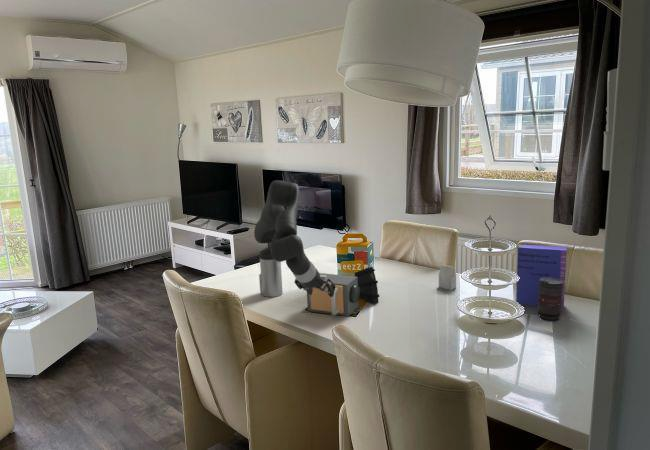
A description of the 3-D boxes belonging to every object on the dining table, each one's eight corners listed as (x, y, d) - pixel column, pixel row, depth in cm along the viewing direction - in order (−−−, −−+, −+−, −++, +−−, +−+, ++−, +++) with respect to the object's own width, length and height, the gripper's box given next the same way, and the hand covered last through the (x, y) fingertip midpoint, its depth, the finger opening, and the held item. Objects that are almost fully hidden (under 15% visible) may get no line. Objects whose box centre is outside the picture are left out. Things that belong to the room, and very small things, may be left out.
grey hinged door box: (307, 310, 209) (305, 278, 206) (319, 301, 218) (317, 271, 216) (351, 316, 200) (350, 283, 198) (362, 307, 210) (361, 275, 207)
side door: (304, 312, 203) (302, 286, 201) (310, 307, 208) (309, 282, 205) (338, 317, 197) (337, 290, 194) (343, 312, 201) (342, 285, 199)
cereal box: (563, 305, 203) (566, 246, 198) (563, 309, 198) (566, 249, 194) (517, 300, 210) (519, 244, 205) (516, 304, 206) (518, 246, 201)
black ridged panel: (376, 302, 210) (366, 267, 212) (360, 307, 221) (350, 274, 224) (384, 300, 212) (373, 266, 214) (367, 305, 223) (357, 272, 225)
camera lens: (550, 324, 185) (552, 285, 182) (532, 317, 192) (534, 279, 189) (565, 319, 188) (568, 281, 185) (547, 313, 195) (549, 275, 192)
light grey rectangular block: (451, 290, 226) (451, 268, 224) (438, 286, 231) (438, 265, 229) (456, 288, 228) (456, 266, 226) (443, 284, 233) (443, 263, 231)
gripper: (327, 264, 174) (342, 286, 186) (291, 261, 180) (307, 282, 192) (321, 284, 170) (336, 305, 183) (284, 280, 176) (301, 300, 189)
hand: (321, 293), depth 188 cm, fingers open, 8 cm apart
